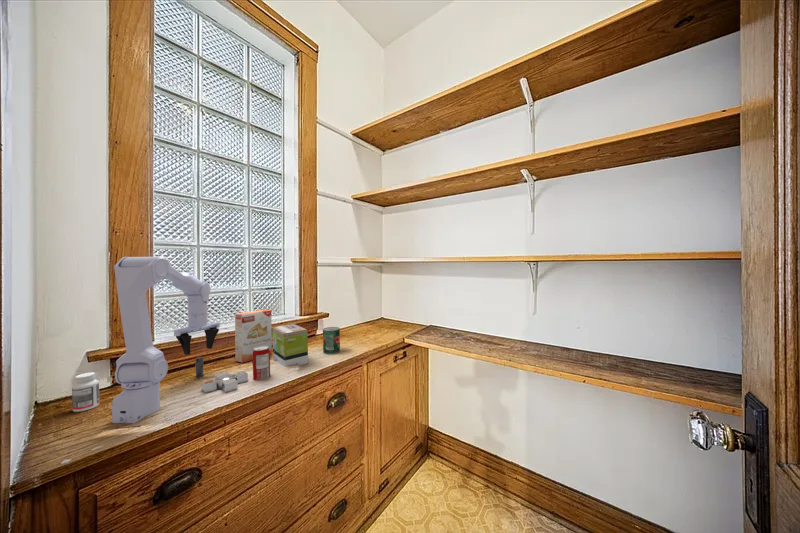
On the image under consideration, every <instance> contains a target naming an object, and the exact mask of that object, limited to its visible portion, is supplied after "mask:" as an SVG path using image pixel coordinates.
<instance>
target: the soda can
mask: <svg viewBox="0 0 800 533" xmlns="http://www.w3.org/2000/svg"><path fill="white" fill-rule="evenodd" d="M270 357H271V355H270V350H269V347H268V346H260V347H256V348H254V350H253V360H252V379H253V380H254V381H262V380H266V379H269V378H270V377H271V358H270Z"/></svg>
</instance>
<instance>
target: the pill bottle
mask: <svg viewBox="0 0 800 533" xmlns="http://www.w3.org/2000/svg"><path fill="white" fill-rule="evenodd" d="M96 378H97V377H96V372H95V371H94V372H93V371H92V372H85V373H81V374H79V375H75V378H74V381H75V383H74V384H73V385H72V386H71V398H72V399H71V401H72V402H71V403H72V404H71V405H72V406H71V407H72V412H74V413H75V412H76V413H79V412H80V413H81V412H85V411H89V410H92V409H94V408H96V407H98V406H99V405H100V401H101V400H100V380H98V379H96Z"/></svg>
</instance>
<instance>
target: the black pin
mask: <svg viewBox="0 0 800 533" xmlns="http://www.w3.org/2000/svg"><path fill="white" fill-rule="evenodd" d="M194 364H195V367H194V370H195V371H194V372H195V375H194V376H195V378H202V377H204V374H205V372H204V356H198V357H195V358H194Z"/></svg>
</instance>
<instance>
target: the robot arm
mask: <svg viewBox="0 0 800 533" xmlns="http://www.w3.org/2000/svg"><path fill="white" fill-rule="evenodd" d="M113 268H114V276H115V282H116V293H117V298H118V305H119V310H120V317H121V326H122V332H123V338H124V343H125V350H126V351H125V353H124V354H122V355H121V356H120V357H119V358H118V359H117V360H116V361H115V363H116V364H115V365H116V367H115V372H114V379H115V382H116V383H117V384H119V385H120V388H122V391H121V392H119V394H117V395H115V396H114V398H113V399H112V402H111V417H112V418H111V420H112V421H111V423H113V424H135V423H137V422H139V421H141V420H143V419H144V418H146V417H148V416H151V415H152V414H155V413H157V412H158V411H159V410H160V409H161V381H163V380H164V378H165V377H166V375H167V374H168V370H169V364H168V362H167V360H166V358H165V356H164V355H165V354H164V352H163V351H161V350H160V349H158V348H157V347H155V346H154V344H153V343H154V342H153V334H152V328H151V322H150V321H151V320H150V314H149V307H148V306H149V305H148V300H147V291H148V290H149V289H150V288H153V287H155V285H157V284H158V283H159V282H160V281H162V280H163V279H165V280H167V281H169V282H171V284H172V286H173V287H174V288H176V289H178V290H180V291H182V293H183V295H184V296H185V297H187V318H188V319H187V322H188V323H187V324H188V326H185V327H182V328H181V327H180V328H178V329H177V328H176V329H174V330H173V336H174V337H175V338H176V339H177V341H178V342H179V344H180V345H181V347H182V349H183V350H182V351H183V353H184V355H186V356H188V355H190V354H191V342H192V337H193V336H192V335H190V334H192V333H196V332H201V331H203V332H204V335H205V341H206V345H205V346H206V349H209V350H211V349H213V345H214V342H215V340H216V339H215V338H217V335H218V333H219V332H220V329H219V328H220V327H221V326H220V324H221V323H220V322H219V321H216V322H214V321H213V322H208V301H209V300H210V294H211V291H212V290H211V285H210V283H209V282H207V281H206V280H199V278H198V277H195V276H193V275H192V274H191V272H189V271H183V272H182V271H181V272H180V271H179V270H178V269H176V268H175V267H174V266H172V264H171V263H170V260H169V259H167V258H165V257H164V256H162V255H159V256H158V255H156V256H123V257H122V258H120V259H119V260H118V261H117V263H115V264H114V266H113ZM132 427H133V428H136V427H137V428H138V427H140V425H135V426H132Z"/></svg>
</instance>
